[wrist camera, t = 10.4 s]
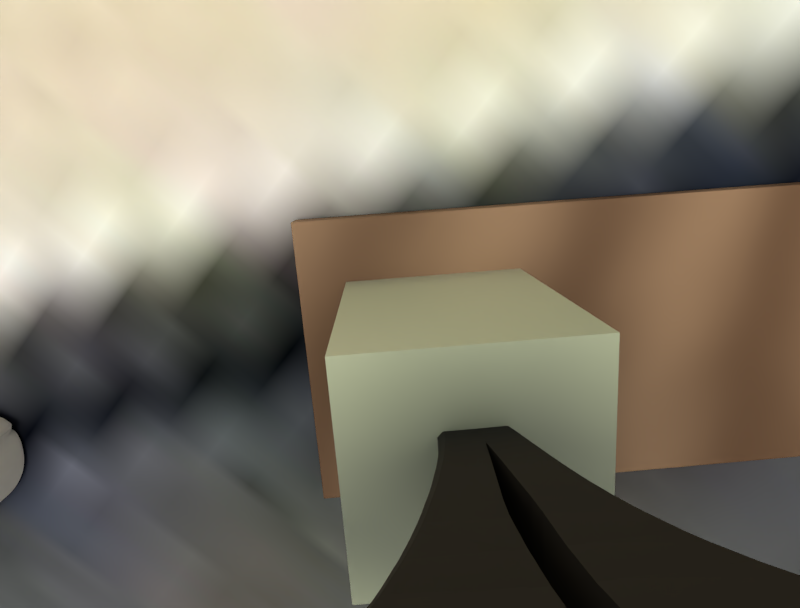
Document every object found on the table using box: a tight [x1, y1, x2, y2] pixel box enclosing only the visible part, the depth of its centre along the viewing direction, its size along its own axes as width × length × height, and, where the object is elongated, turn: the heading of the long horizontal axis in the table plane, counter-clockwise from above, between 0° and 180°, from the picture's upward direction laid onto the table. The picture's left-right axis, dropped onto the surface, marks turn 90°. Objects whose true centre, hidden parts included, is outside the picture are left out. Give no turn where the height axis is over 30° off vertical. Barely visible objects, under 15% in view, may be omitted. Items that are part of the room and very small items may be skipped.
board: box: [291, 182, 800, 498], centre depth 17 cm, size 17×9×1 cm, turn 94°
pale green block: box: [325, 268, 620, 605], centre depth 13 cm, size 5×5×7 cm
